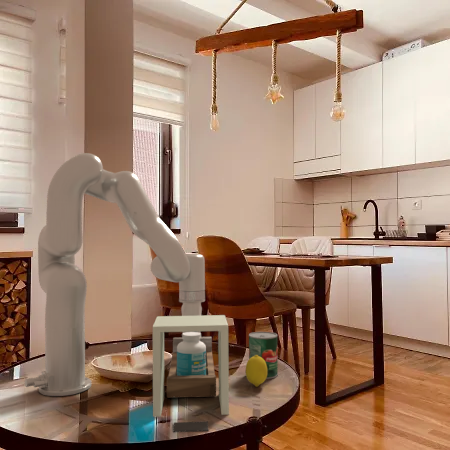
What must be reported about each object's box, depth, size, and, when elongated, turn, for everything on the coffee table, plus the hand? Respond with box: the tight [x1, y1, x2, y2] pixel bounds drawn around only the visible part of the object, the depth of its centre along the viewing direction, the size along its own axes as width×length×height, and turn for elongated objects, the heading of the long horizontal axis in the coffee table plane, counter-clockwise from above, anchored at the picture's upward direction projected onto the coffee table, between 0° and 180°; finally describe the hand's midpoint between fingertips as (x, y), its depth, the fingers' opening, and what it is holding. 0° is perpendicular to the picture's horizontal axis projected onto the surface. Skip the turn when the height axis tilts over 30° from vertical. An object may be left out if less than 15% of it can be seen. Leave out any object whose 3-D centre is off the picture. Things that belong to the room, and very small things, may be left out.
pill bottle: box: [177, 332, 207, 376], centre depth 119 cm, size 8×7×14 cm
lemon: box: [245, 355, 267, 388], centre depth 119 cm, size 6×6×8 cm
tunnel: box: [152, 314, 230, 418], centre depth 106 cm, size 12×16×19 cm
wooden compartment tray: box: [166, 336, 217, 399], centre depth 126 cm, size 32×12×7 cm, turn 4°
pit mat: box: [172, 420, 209, 433], centre depth 94 cm, size 4×7×1 cm, turn 94°
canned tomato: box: [248, 331, 279, 380], centre depth 128 cm, size 8×8×11 cm
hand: (192, 358), depth 137 cm, fingers closed
